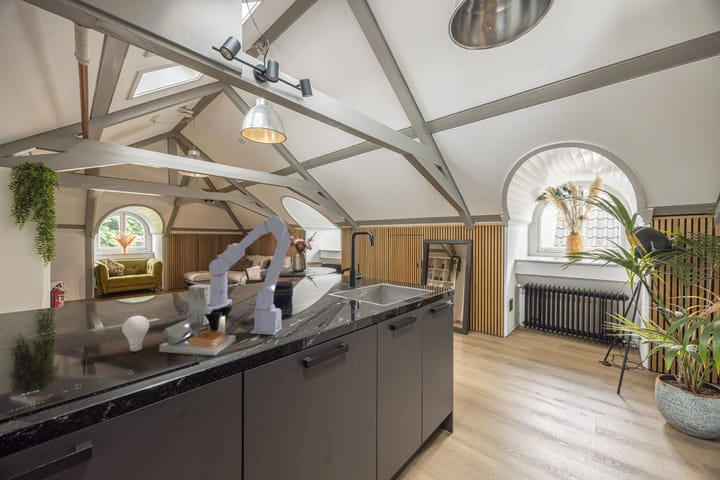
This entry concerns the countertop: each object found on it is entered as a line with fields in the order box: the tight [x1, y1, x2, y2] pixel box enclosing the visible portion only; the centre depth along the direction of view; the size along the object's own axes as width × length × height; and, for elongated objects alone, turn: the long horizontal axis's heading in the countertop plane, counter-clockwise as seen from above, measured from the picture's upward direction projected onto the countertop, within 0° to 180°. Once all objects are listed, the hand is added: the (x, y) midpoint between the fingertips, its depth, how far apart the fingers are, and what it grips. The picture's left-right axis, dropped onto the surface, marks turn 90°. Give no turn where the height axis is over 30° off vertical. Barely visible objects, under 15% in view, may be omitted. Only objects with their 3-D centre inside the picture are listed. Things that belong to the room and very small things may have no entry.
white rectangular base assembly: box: [158, 317, 237, 356], centre depth 95 cm, size 18×12×8 cm, turn 84°
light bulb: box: [121, 315, 150, 353], centre depth 90 cm, size 7×7×11 cm
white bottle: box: [216, 314, 226, 332], centre depth 107 cm, size 4×4×7 cm
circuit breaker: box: [186, 283, 210, 326], centre depth 124 cm, size 8×14×15 cm, turn 174°
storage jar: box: [273, 281, 294, 321], centre depth 131 cm, size 10×10×15 cm
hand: (218, 328), depth 107 cm, fingers closed on white bottle, 4 cm apart
